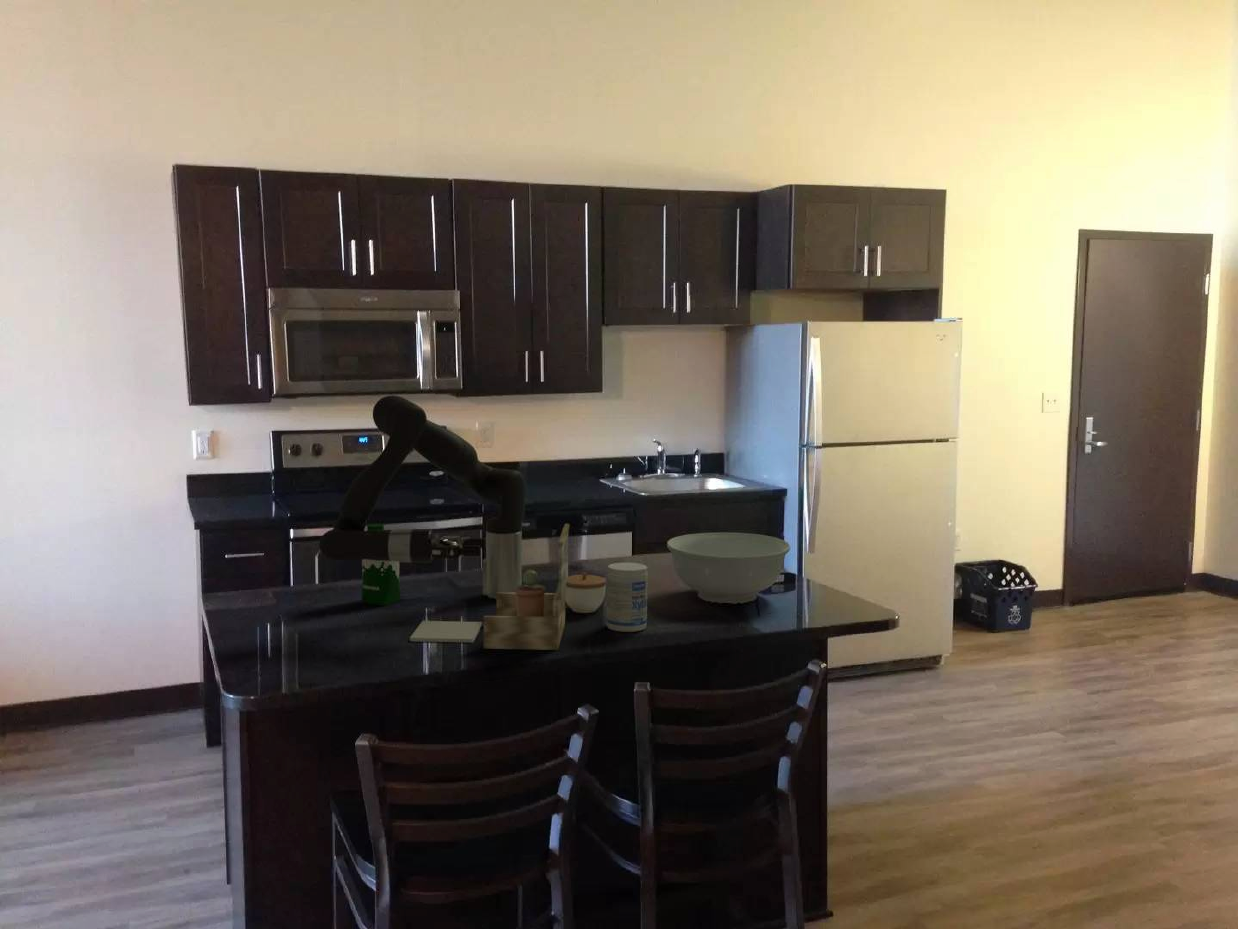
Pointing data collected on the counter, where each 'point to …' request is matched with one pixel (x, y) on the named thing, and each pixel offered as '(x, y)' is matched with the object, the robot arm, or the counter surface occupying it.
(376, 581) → the milk carton
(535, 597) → the terracotta pot
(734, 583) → the bowl
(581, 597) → the lidded jar
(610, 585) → the supplement tub
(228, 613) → the counter surface
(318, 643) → the counter surface
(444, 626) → the paving slab
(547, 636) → the cold frame
